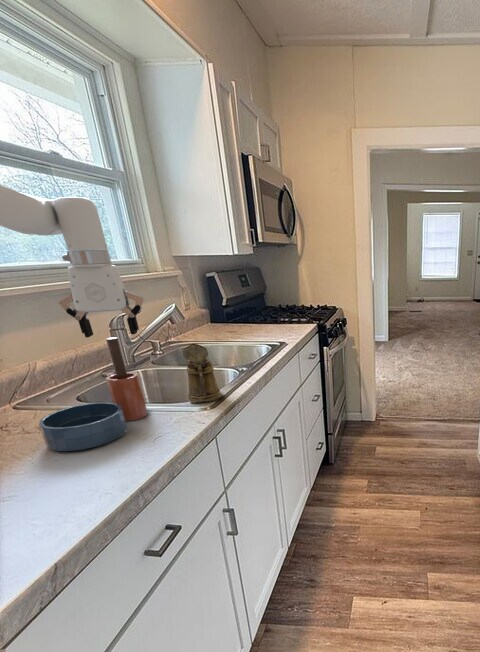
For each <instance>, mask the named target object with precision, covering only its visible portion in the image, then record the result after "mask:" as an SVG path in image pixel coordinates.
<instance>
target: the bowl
mask: <svg viewBox="0 0 480 652" xmlns="http://www.w3.org/2000/svg"><path fill="white" fill-rule="evenodd" d="M38 427H39V430H40V432H41V434H42V437H43V439H44V440H43V441H44V442H45V445H46V447H47V448H49V449H50V450H53V451H57V452H74V451H82V450H88V449H93V448H98V447H100V446H103V445H106V444H108V443H111V442H112V441H114V440H117V439H119V438H120V437H122V436H123V435H124V434H126V432H127V431H128V425H127V421H125V417H124V414H123V410H122V407H121V406H120V405H118V404H116V403H113V402H109V401H105V402H103V401H102V402H101V401H100V402H89V403H82V404H78V405H77V404H76V405H73V406H69V407H64V408H63V409H62V408H61V409H59V410H55V411H53V412H51V413H49V414H47V415H45V416H44V417H43V418H41V419H40V420H39V422H38Z"/></svg>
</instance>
